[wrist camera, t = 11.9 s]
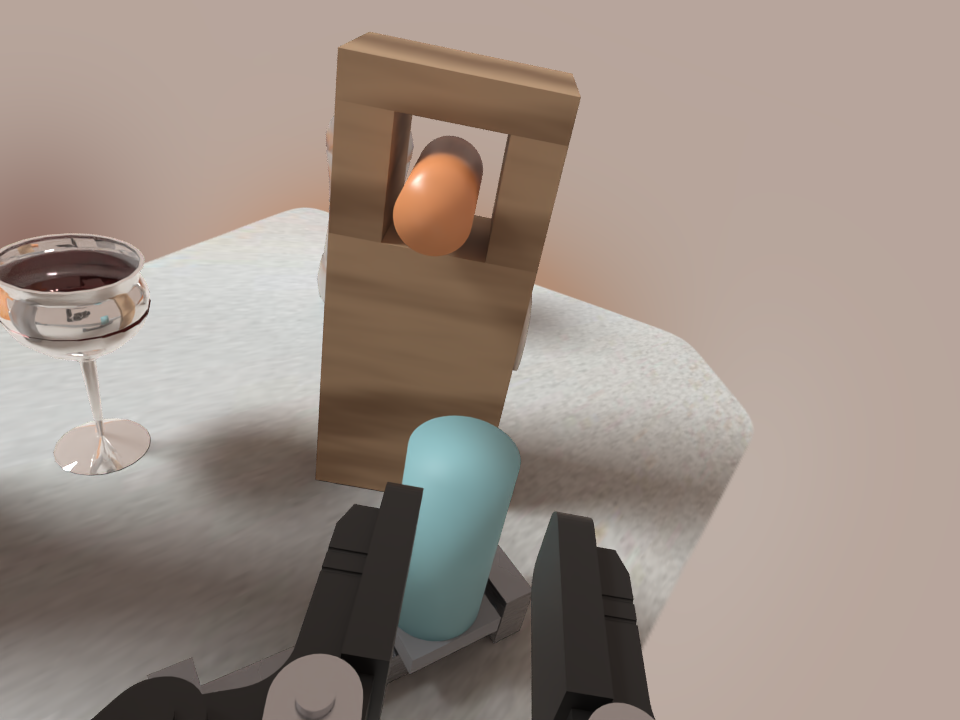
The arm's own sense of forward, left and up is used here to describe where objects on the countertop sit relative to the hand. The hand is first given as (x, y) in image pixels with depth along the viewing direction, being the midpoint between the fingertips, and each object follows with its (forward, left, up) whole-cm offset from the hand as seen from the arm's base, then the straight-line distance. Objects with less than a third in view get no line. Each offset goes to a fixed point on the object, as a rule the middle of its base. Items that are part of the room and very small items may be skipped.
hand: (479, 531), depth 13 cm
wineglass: (-28, -5, -19) cm, 34 cm away
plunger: (-17, +9, -2) cm, 20 cm away
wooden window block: (-20, +11, -19) cm, 29 cm away
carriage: (-8, +6, -17) cm, 20 cm away
